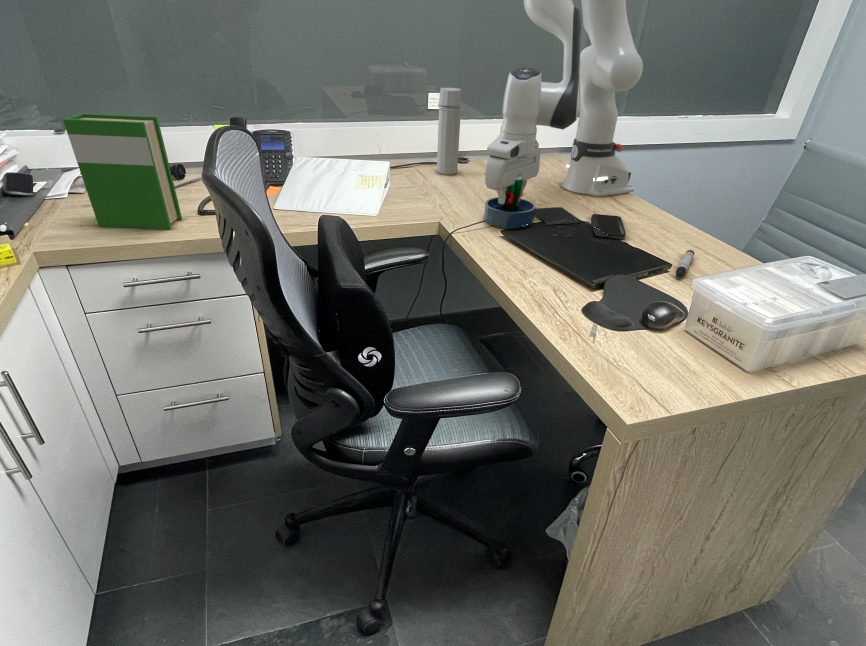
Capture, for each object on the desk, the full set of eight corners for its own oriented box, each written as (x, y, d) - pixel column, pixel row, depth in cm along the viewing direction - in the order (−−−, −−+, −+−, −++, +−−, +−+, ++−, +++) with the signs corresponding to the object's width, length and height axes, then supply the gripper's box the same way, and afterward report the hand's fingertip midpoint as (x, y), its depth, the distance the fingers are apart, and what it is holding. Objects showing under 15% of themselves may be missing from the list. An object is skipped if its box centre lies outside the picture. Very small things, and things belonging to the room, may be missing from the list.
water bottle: (433, 170, 184) (435, 87, 170) (455, 169, 186) (459, 87, 171) (439, 177, 177) (443, 91, 163) (462, 176, 179) (468, 91, 164)
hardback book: (182, 219, 139) (157, 116, 124) (170, 229, 133) (142, 122, 118) (114, 216, 139) (81, 113, 125) (98, 226, 133) (62, 119, 119)
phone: (620, 216, 147) (626, 235, 135) (619, 220, 148) (625, 239, 136) (591, 213, 148) (594, 232, 136) (590, 217, 149) (593, 236, 137)
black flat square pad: (561, 209, 155) (561, 206, 154) (580, 223, 145) (581, 221, 145) (528, 210, 153) (529, 208, 152) (546, 225, 143) (547, 223, 143)
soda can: (519, 223, 143) (525, 176, 136) (499, 222, 143) (504, 175, 136) (516, 216, 147) (522, 171, 140) (498, 216, 147) (503, 170, 140)
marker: (684, 257, 128) (686, 249, 127) (692, 258, 128) (695, 250, 126) (672, 280, 118) (674, 271, 116) (681, 282, 117) (684, 273, 116)
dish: (521, 211, 152) (523, 195, 149) (541, 228, 141) (543, 211, 139) (477, 214, 149) (478, 198, 146) (493, 231, 138) (495, 214, 136)
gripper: (528, 135, 142) (521, 189, 150) (482, 148, 129) (478, 206, 137) (549, 139, 139) (541, 194, 147) (504, 152, 126) (498, 211, 134)
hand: (510, 200), depth 142 cm, fingers open, 6 cm apart
